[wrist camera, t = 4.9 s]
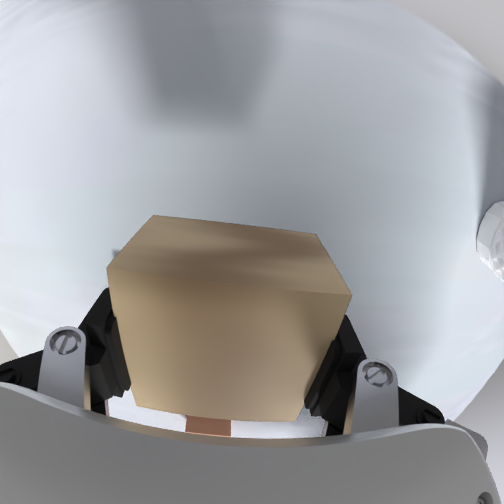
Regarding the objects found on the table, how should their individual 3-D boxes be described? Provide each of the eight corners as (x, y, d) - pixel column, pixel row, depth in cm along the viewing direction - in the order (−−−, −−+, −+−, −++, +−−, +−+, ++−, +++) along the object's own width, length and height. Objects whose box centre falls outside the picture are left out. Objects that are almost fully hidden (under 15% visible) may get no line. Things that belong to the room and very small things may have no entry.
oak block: (315, 234, 10) (352, 294, 6) (283, 351, 13) (294, 421, 9) (153, 215, 10) (106, 267, 6) (158, 338, 12) (136, 405, 8)
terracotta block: (230, 407, 29) (230, 436, 25) (227, 425, 31) (227, 450, 28) (188, 403, 28) (185, 431, 25) (189, 421, 31) (187, 446, 27)
